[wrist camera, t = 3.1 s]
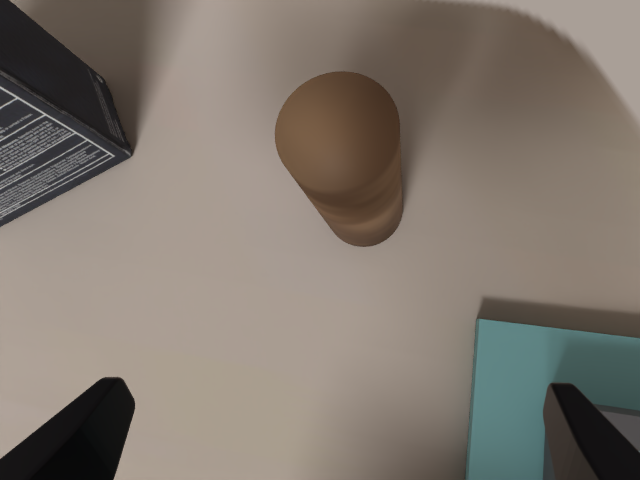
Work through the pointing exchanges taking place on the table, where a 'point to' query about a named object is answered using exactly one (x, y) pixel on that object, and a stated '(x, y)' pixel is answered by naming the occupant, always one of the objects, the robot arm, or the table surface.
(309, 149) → the peg
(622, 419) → the docking socket
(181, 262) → the table surface
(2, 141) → the small box
